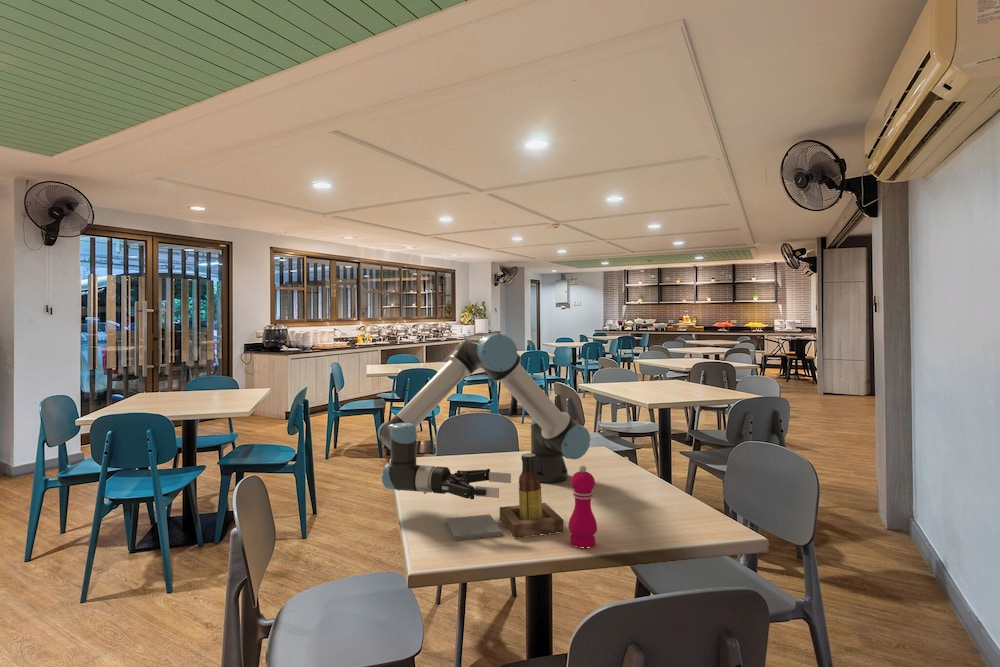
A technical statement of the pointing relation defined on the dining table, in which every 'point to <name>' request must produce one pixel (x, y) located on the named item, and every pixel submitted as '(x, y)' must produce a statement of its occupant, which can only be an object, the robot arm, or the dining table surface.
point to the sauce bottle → (529, 489)
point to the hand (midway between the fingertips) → (505, 485)
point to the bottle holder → (531, 522)
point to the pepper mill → (582, 510)
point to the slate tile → (472, 527)
